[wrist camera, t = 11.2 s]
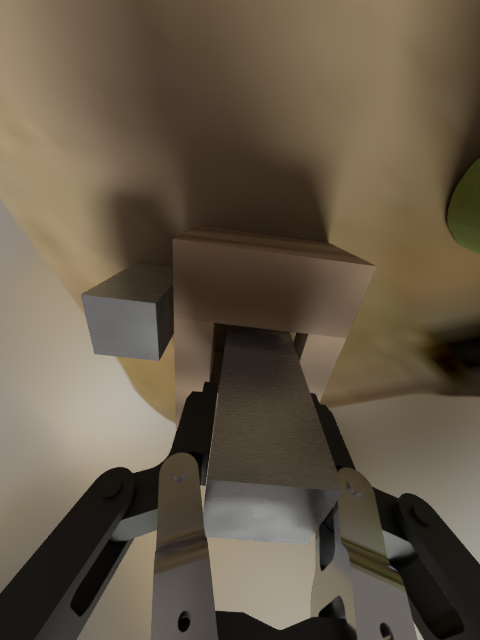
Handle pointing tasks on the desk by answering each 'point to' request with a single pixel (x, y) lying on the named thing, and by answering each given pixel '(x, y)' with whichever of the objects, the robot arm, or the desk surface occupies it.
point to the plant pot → (466, 210)
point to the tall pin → (267, 445)
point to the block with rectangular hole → (261, 300)
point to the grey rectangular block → (132, 312)
